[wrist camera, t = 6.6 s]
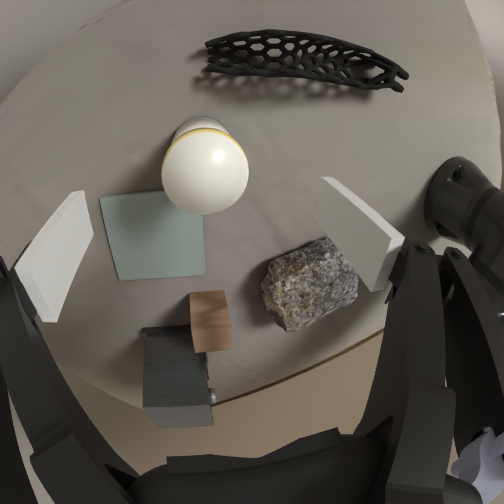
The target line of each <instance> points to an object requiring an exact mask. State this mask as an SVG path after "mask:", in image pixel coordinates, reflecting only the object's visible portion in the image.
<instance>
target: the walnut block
mask: <svg viewBox="0 0 504 504" xmlns="http://www.w3.org/2000/svg"><path fill="white" fill-rule="evenodd" d="M189 294H190V316H191V332H192V337H193V343H194V349H195V353H199V352H211V351H222V350H231V324H230V319H229V313H228V308H227V303H226V297H225V292H224V290H219V291H206V292H192V293H189Z"/></svg>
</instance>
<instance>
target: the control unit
mask: <svg viewBox="0 0 504 504" xmlns="http://www.w3.org/2000/svg"><path fill="white" fill-rule="evenodd" d="M142 334H143V337H144V340H145V355H144V377H143V408H144V409H145V411H146V412H147V414H148V415H149V416H150V418H151V419H152V420H153V421H154V423H155V424H156V425H157V426H158V428H176V427H177V428H179V427H197V426H209V425H210V426H211V425H214V423H213V416H212V410H211V403H217V401H216V395H215V388H208V381H207V380H209V376H208V369H207V363H208V358H207V352H199V353H195V349H194V343H193V337H192V332H191V325H185V326H169V327H149V328H143V330H142Z"/></svg>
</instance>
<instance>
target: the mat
mask: <svg viewBox="0 0 504 504" xmlns="http://www.w3.org/2000/svg"><path fill="white" fill-rule="evenodd" d="M100 203H101V209H102V213H103V218H104V223H105V227H106V232H107V236H108V240H109V244H110V248H111V252H112V255H113V259H114V263H115V266H116V270H117V273H118V277H119V280H137V279H153V278H168V277H182V276H196V275H206V272H205V255H204V236H203V215H197V214H192V213H189V212H186V211H184V210H182V209H180V208H179V207H177V206H176V205H175V204H174V203H173V202H172V201H171V200H170V199H169V197H168V196H167V194H166V192H165V190H161V191H149V192H139V193H129V194H120V195H111V196H103V197H100Z"/></svg>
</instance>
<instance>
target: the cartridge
mask: <svg viewBox="0 0 504 504" xmlns="http://www.w3.org/2000/svg"><path fill="white" fill-rule="evenodd" d="M248 175H249V172H248V162H247V158H246V156H245V153H244V151H243V150H242V148H241V147H240V146H239V144H238V143H237V142H236V141H235V140H234V138H232V137H231V136H230V135H229V133H228V131H227V129H226V128H225V127H224V126H223V124H221V123H220V122H219V121H217V120H216V119H213V118H210V117H205V116H200V117H194V118H191V119H189V120H187V121H185V122H184V123H183V124H181V125H180V126H179V128H178V129H177V130H176V132H175V134H174V136H173V139H172V144H171V145H170V147H169V149H168V151H167V153H166V155H165V157H164V160H163V164H162V169H161V178H162V184H163V187H164V190H165V192H166V194H167V196H168V197H169V199H170V200H171V201H172V202H173V203H174V204H175V205H176V206H177V207H179V208H180V209H182V210H184V211H186V212H189V213H192V214H197V215H210V214H215V213H218V212H221V211H223V210H225V209H227V208H229V207H230V206H232V205H233V204H234V203H235V202H236V201H237V200H238V199H239V198H240V196H241V195H242V194H243V192H244V190H245V188H246V185H247V181H248Z"/></svg>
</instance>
